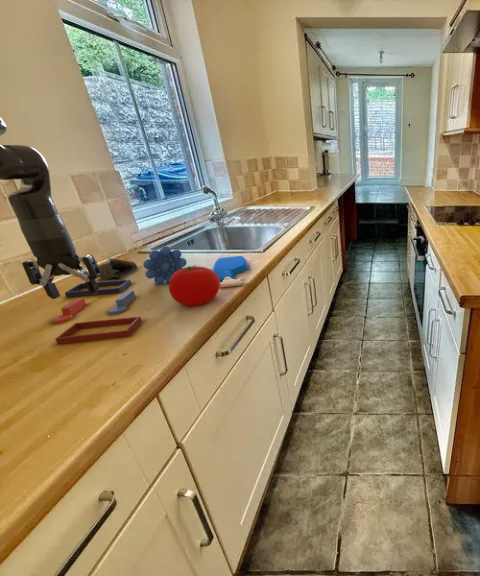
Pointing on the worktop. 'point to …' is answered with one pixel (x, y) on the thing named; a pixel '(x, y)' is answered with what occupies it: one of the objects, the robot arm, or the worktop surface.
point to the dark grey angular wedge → (116, 269)
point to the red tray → (67, 337)
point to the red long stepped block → (70, 310)
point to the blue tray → (75, 290)
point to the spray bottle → (230, 270)
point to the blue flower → (163, 264)
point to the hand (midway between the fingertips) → (75, 295)
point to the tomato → (194, 285)
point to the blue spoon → (123, 302)
